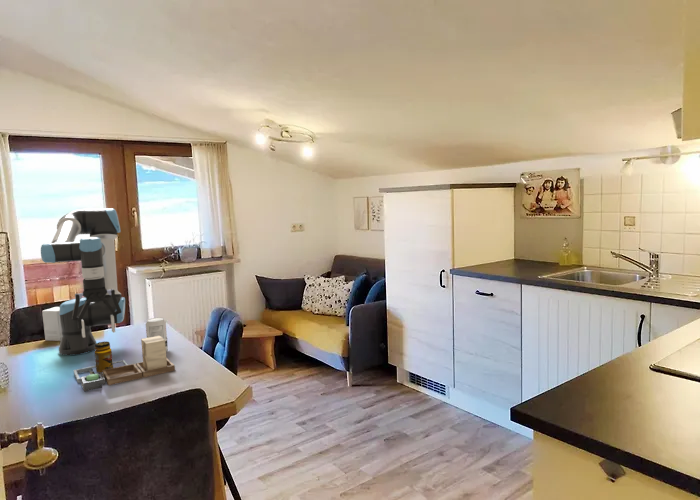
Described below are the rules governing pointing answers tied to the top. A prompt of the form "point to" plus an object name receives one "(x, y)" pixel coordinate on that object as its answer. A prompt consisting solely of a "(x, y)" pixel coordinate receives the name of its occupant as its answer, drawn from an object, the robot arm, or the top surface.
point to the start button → (92, 377)
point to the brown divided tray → (133, 372)
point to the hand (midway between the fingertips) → (98, 334)
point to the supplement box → (52, 324)
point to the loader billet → (153, 353)
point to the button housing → (92, 383)
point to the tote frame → (90, 370)
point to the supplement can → (157, 329)
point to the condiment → (103, 357)
